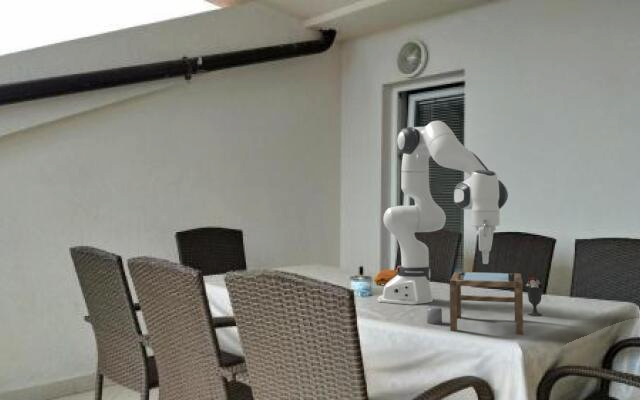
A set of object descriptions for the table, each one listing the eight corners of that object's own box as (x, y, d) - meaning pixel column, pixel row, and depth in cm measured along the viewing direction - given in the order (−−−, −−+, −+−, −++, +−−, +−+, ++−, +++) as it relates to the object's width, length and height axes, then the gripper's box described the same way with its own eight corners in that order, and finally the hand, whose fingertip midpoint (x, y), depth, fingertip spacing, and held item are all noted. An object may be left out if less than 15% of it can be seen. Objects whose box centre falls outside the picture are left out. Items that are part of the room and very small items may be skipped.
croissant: (383, 285, 299) (381, 269, 300) (410, 283, 290) (408, 267, 291) (368, 288, 288) (366, 272, 288) (396, 286, 279) (394, 269, 279)
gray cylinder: (426, 324, 199) (426, 309, 199) (428, 321, 204) (427, 306, 204) (441, 324, 198) (441, 309, 198) (442, 321, 203) (442, 307, 203)
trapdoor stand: (450, 330, 189) (449, 279, 189) (455, 316, 210) (454, 270, 210) (523, 334, 183) (522, 281, 183) (520, 319, 204) (520, 271, 204)
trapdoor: (463, 287, 191) (463, 279, 191) (466, 277, 208) (466, 270, 208) (508, 289, 187) (508, 281, 187) (508, 278, 204) (508, 271, 203)
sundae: (521, 313, 215) (521, 271, 215) (539, 312, 216) (539, 271, 215) (529, 316, 208) (529, 274, 208) (548, 316, 209) (547, 273, 209)
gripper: (495, 221, 181) (495, 266, 181) (495, 218, 201) (496, 259, 201) (473, 221, 183) (474, 266, 183) (476, 218, 202) (477, 259, 203)
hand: (485, 262), depth 192 cm, fingers open, 5 cm apart
